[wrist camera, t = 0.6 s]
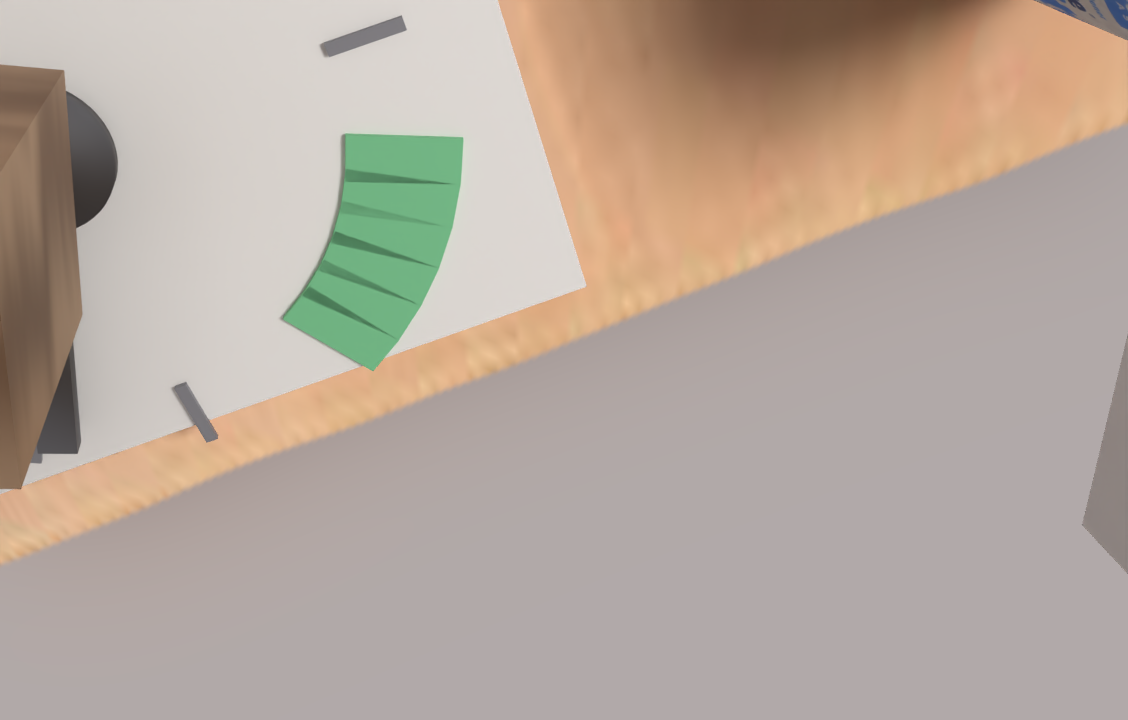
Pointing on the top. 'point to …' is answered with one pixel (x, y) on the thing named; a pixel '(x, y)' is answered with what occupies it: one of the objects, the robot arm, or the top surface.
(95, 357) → the dial board
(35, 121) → the key
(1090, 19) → the supplement tub
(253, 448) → the top surface
